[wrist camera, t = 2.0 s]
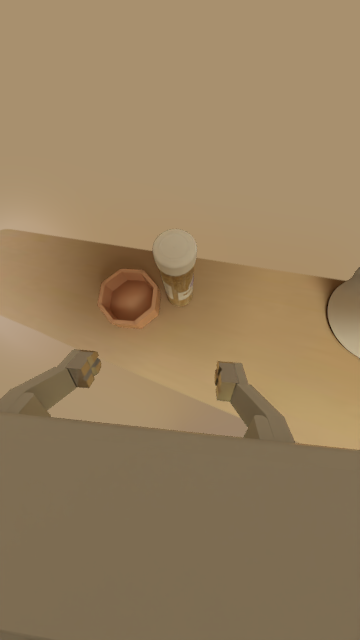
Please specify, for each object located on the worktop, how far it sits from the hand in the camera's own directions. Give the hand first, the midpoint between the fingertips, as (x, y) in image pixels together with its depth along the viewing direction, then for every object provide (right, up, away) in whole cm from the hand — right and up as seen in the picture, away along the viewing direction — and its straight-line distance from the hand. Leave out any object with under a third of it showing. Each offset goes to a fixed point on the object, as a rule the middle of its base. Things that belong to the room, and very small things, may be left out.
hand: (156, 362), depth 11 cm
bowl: (-7, +6, +18) cm, 20 cm away
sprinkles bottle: (+2, +7, +19) cm, 20 cm away
